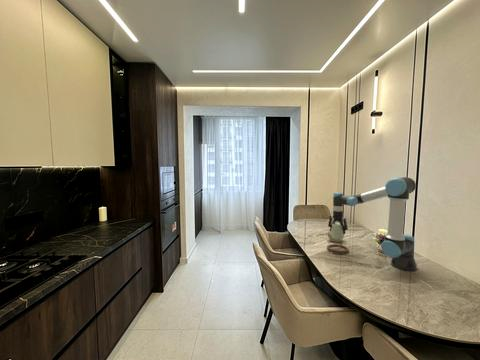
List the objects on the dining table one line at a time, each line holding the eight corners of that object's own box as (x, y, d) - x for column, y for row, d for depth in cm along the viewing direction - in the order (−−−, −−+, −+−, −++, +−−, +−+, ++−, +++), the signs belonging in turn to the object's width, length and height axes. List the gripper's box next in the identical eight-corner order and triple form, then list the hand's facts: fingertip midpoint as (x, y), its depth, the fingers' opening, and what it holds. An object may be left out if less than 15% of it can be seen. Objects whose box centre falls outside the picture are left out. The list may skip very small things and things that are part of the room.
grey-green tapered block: (333, 235, 199) (333, 221, 198) (344, 237, 193) (344, 223, 192) (330, 237, 192) (330, 224, 191) (341, 239, 186) (341, 225, 185)
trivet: (352, 250, 192) (352, 247, 192) (342, 256, 181) (342, 253, 181) (333, 245, 205) (333, 242, 205) (323, 250, 194) (323, 247, 194)
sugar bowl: (348, 244, 209) (348, 228, 208) (332, 244, 208) (332, 228, 208) (338, 237, 228) (338, 222, 227) (324, 237, 228) (324, 223, 227)
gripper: (352, 211, 185) (352, 238, 186) (328, 208, 202) (328, 232, 203) (348, 213, 180) (348, 240, 182) (323, 209, 197) (323, 234, 198)
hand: (337, 236), depth 192 cm, fingers closed on grey-green tapered block, 9 cm apart
